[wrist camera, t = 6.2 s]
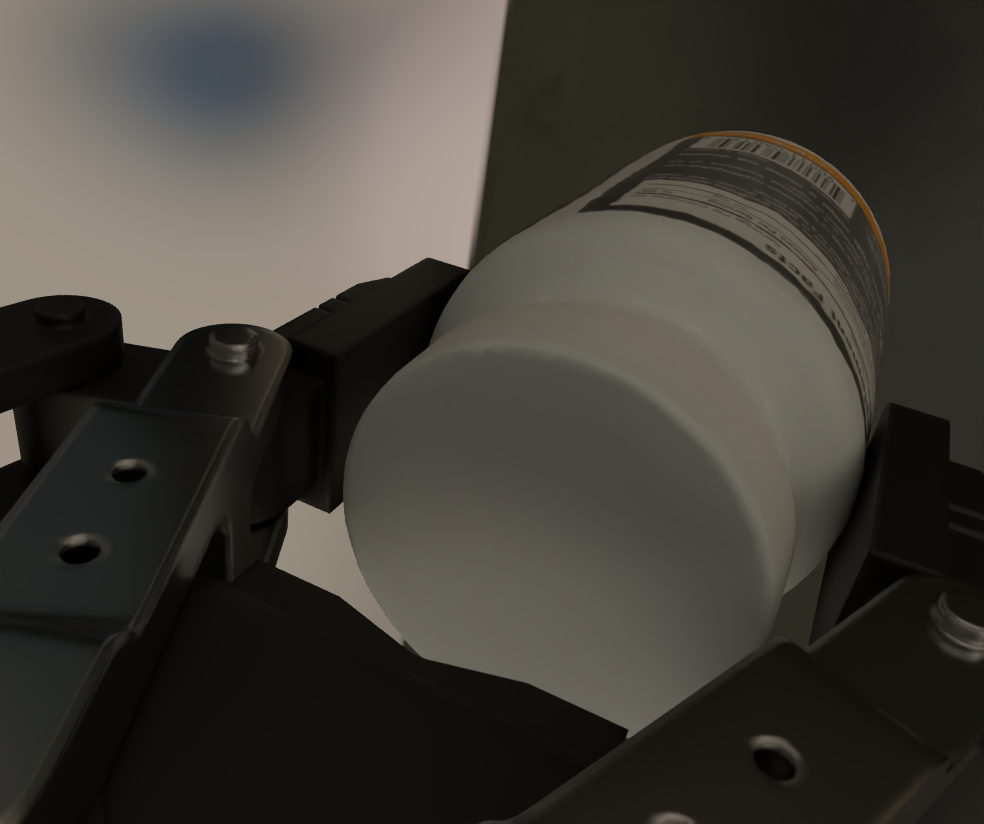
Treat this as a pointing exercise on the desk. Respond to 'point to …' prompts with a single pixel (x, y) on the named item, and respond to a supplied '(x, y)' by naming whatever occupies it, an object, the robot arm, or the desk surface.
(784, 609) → the desk surface
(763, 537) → the pill bottle
